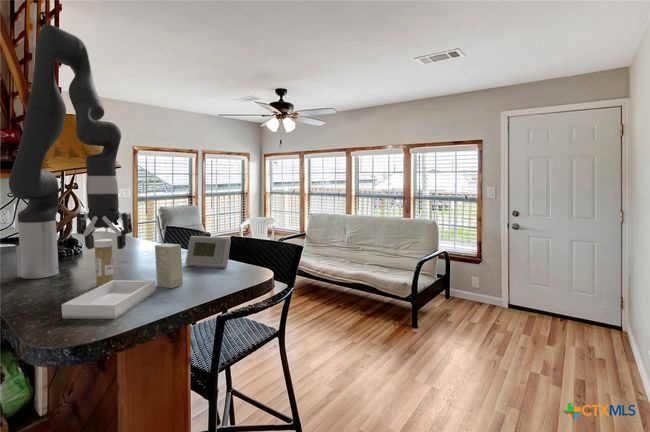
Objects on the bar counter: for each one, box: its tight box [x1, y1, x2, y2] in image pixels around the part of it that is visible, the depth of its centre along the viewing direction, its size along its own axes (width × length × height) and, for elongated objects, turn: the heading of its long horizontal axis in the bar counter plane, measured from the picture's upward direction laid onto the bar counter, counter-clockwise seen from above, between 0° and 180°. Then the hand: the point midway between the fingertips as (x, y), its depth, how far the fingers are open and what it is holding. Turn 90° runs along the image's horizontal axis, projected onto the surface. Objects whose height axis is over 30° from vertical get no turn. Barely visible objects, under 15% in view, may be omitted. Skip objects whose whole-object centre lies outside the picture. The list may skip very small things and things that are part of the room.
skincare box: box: [154, 242, 183, 289], centre depth 104 cm, size 6×4×12 cm
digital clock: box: [185, 235, 232, 269], centre depth 129 cm, size 16×9×11 cm, turn 68°
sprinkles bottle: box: [94, 238, 114, 288], centre depth 103 cm, size 5×5×14 cm
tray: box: [61, 279, 157, 320], centre depth 88 cm, size 12×20×3 cm, turn 1°
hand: (105, 248), depth 103 cm, fingers open, 8 cm apart
